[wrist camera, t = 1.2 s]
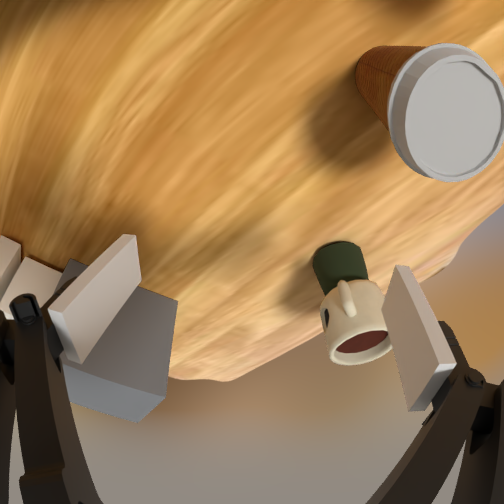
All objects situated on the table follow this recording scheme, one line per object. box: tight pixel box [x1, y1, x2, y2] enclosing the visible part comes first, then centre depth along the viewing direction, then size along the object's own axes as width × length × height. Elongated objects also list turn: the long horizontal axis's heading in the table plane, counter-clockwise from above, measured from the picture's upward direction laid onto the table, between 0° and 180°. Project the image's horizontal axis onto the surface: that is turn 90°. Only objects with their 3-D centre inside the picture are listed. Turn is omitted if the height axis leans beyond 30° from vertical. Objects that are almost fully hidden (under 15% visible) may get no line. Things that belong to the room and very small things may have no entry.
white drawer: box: [0, 235, 63, 319], centre depth 34 cm, size 21×13×12 cm, turn 59°
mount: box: [53, 259, 178, 423], centre depth 38 cm, size 16×14×14 cm
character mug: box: [313, 242, 392, 366], centre depth 33 cm, size 11×7×13 cm, turn 28°
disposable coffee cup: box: [355, 43, 504, 182], centre depth 19 cm, size 10×10×12 cm
